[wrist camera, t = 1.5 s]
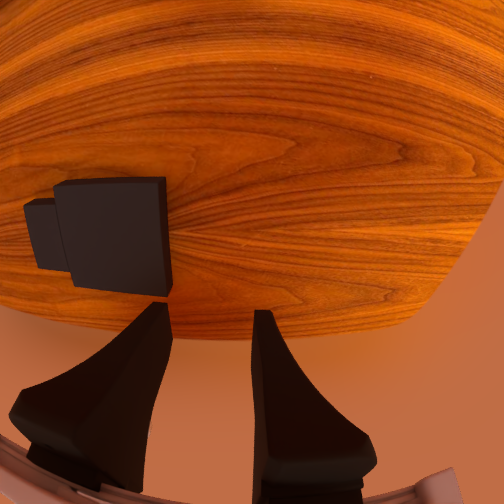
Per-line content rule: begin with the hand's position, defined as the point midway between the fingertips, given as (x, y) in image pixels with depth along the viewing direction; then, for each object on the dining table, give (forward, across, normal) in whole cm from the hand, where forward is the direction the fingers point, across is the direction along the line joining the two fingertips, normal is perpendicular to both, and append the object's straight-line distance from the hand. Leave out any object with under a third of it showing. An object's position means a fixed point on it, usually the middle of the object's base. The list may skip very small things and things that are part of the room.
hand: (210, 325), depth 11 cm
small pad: (+8, +10, 0) cm, 13 cm away
